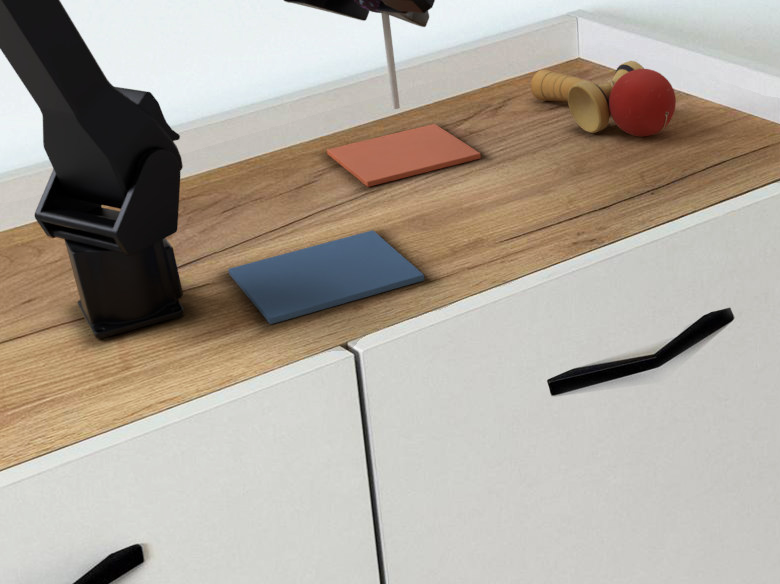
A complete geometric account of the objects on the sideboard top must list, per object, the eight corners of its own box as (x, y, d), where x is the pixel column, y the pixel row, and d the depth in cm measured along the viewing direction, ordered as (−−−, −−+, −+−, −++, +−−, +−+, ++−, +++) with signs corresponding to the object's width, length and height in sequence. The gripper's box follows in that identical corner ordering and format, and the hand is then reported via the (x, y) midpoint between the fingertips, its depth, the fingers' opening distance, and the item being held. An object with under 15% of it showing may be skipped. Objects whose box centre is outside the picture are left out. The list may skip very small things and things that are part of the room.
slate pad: (270, 324, 93) (269, 318, 93) (229, 274, 101) (227, 268, 101) (424, 280, 98) (424, 274, 97) (373, 235, 105) (373, 229, 105)
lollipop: (389, 125, 114) (368, -54, 106) (342, 110, 118) (318, -63, 111) (449, 104, 118) (433, -70, 110) (402, 91, 122) (383, -78, 115)
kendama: (509, 124, 129) (629, 143, 116) (508, 58, 128) (630, 69, 114) (571, 118, 134) (694, 135, 120) (571, 54, 132) (696, 64, 118)
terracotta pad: (367, 187, 114) (366, 181, 114) (327, 154, 122) (326, 149, 122) (481, 158, 118) (480, 153, 118) (435, 128, 126) (434, 123, 126)
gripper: (427, -178, 98) (516, -57, 112) (242, -180, 108) (345, -68, 121) (375, -47, 97) (472, 60, 110) (192, -60, 106) (302, 40, 119)
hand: (396, 18), depth 115 cm, fingers closed on lollipop, 6 cm apart
